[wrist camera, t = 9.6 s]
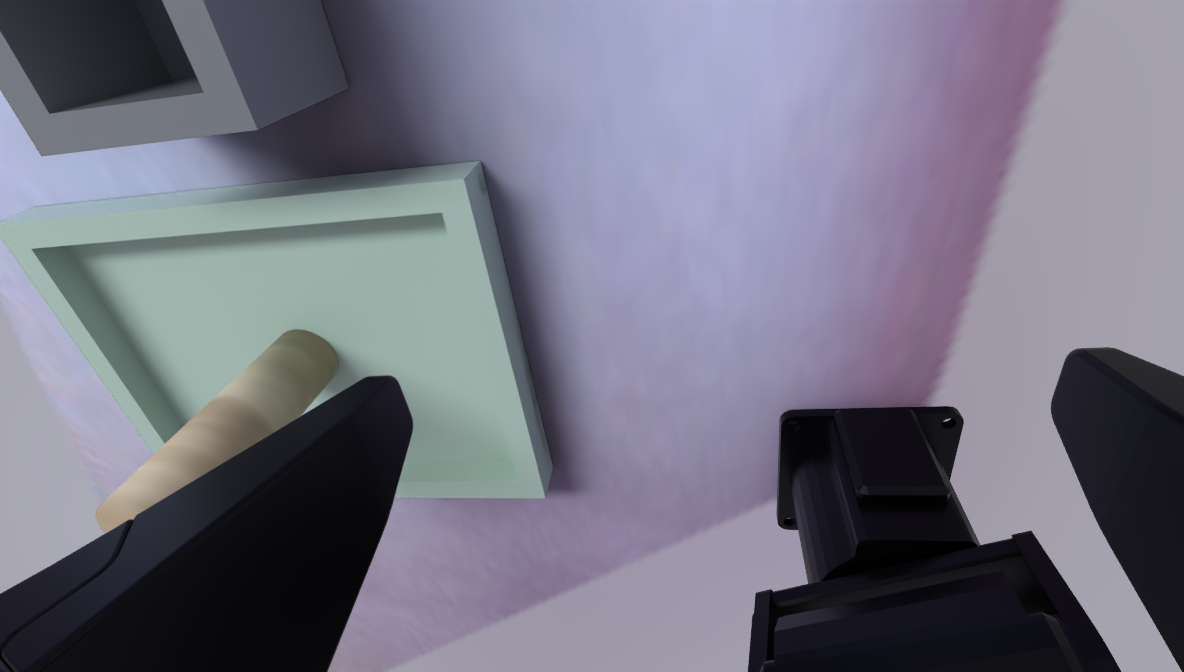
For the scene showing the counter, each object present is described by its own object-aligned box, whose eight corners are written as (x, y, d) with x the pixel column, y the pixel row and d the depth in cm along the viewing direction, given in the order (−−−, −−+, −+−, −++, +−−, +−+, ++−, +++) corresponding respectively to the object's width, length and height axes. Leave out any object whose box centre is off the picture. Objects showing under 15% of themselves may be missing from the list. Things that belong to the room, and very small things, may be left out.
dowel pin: (347, 380, 25) (201, 563, 18) (292, 383, 26) (127, 561, 18) (324, 327, 24) (156, 499, 16) (266, 330, 25) (77, 499, 17)
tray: (553, 467, 28) (545, 498, 26) (207, 469, 31) (183, 496, 29) (480, 160, 20) (463, 178, 19) (35, 206, 23) (-10, 225, 22)
